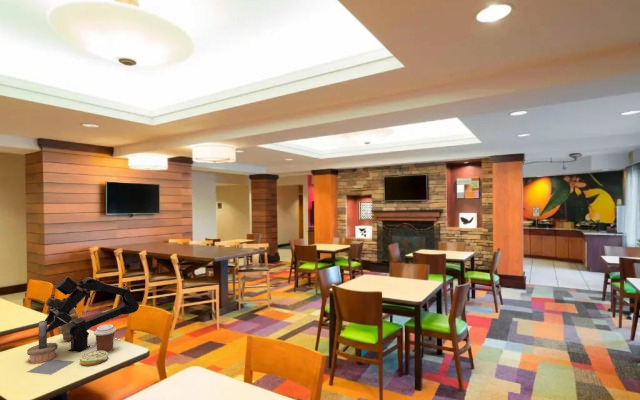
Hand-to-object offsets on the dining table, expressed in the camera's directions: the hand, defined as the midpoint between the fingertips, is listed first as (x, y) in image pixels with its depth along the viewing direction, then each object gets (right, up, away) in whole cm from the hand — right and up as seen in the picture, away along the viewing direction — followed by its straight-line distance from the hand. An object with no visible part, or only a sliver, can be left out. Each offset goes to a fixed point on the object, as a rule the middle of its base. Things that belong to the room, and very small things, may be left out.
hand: (44, 329), depth 163 cm
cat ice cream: (-3, -14, +20) cm, 25 cm away
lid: (0, -10, 0) cm, 10 cm away
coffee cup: (+23, -14, +8) cm, 28 cm away
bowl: (-1, -14, 0) cm, 14 cm away
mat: (+9, -14, -8) cm, 18 cm away
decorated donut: (+24, -14, -2) cm, 29 cm away
